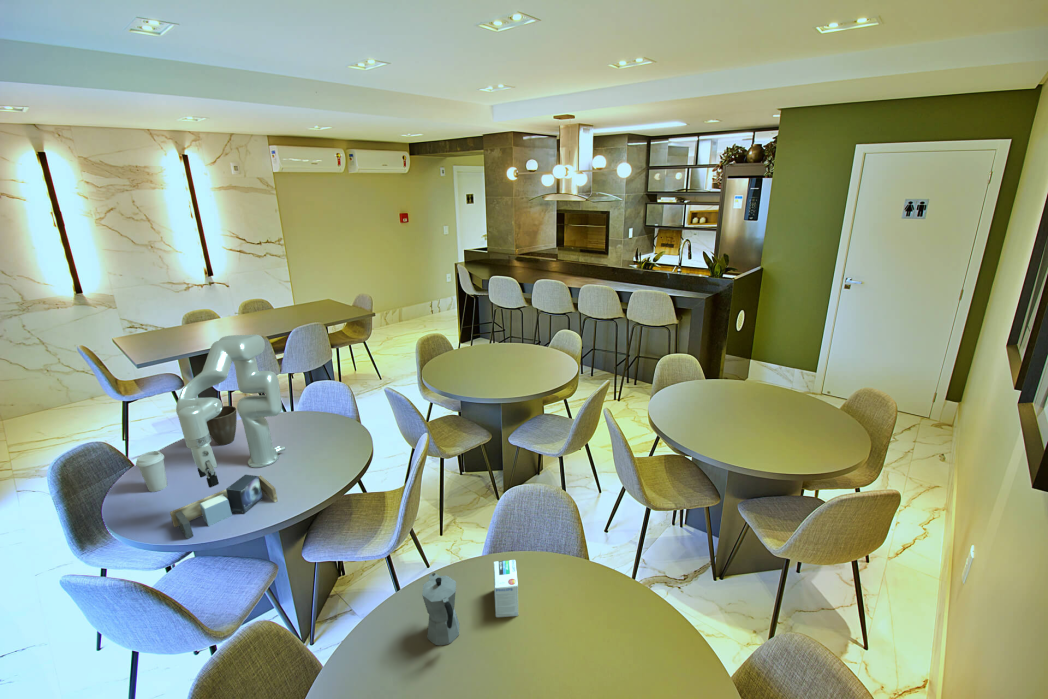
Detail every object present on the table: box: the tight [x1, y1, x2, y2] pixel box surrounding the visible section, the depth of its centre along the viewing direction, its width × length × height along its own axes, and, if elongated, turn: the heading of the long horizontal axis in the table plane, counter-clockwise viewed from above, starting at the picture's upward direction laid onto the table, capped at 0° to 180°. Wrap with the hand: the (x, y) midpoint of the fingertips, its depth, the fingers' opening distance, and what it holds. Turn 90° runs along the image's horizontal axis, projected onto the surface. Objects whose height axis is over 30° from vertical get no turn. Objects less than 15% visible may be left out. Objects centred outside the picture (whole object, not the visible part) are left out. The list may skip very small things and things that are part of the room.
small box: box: [225, 474, 264, 515], centre depth 194 cm, size 11×6×10 cm, turn 168°
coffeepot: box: [421, 572, 460, 646], centre depth 134 cm, size 15×9×18 cm, turn 28°
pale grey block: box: [200, 494, 233, 527], centre depth 187 cm, size 8×6×8 cm
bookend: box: [175, 511, 194, 540], centre depth 180 cm, size 2×10×6 cm, turn 47°
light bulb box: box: [493, 559, 519, 618], centre depth 145 cm, size 11×7×11 cm, turn 5°
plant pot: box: [207, 405, 238, 446], centre depth 244 cm, size 15×15×16 cm
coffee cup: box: [135, 450, 168, 493], centre depth 207 cm, size 10×10×15 cm
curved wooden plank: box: [169, 474, 278, 528], centre depth 190 cm, size 32×14×6 cm, turn 138°
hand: (209, 480), depth 184 cm, fingers open, 9 cm apart
